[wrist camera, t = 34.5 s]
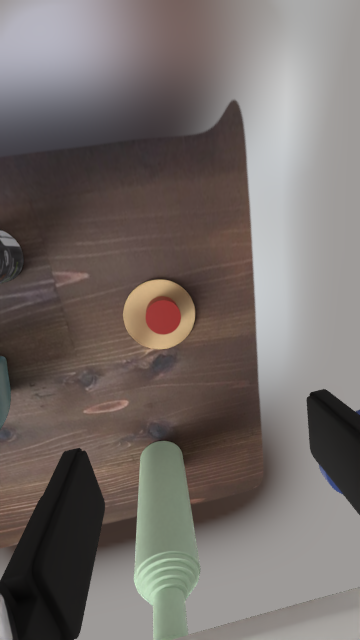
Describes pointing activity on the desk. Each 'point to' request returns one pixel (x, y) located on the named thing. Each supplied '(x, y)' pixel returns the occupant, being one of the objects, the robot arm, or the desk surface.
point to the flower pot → (4, 391)
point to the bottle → (165, 539)
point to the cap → (162, 315)
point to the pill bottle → (9, 257)
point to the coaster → (137, 313)
